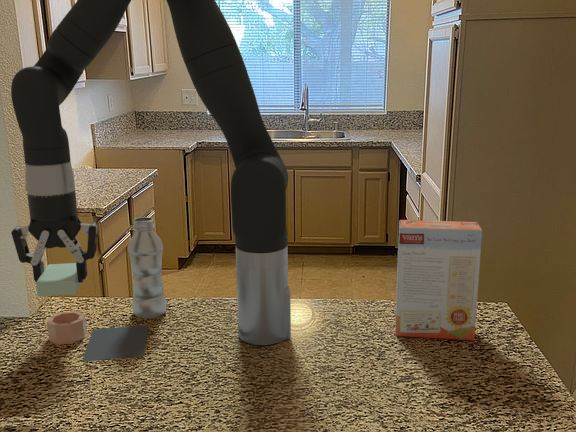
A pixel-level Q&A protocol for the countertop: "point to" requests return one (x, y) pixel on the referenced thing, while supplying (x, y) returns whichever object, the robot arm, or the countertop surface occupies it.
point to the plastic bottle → (146, 270)
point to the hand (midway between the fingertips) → (61, 282)
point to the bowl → (66, 327)
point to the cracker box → (437, 279)
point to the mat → (116, 343)
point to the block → (58, 280)
